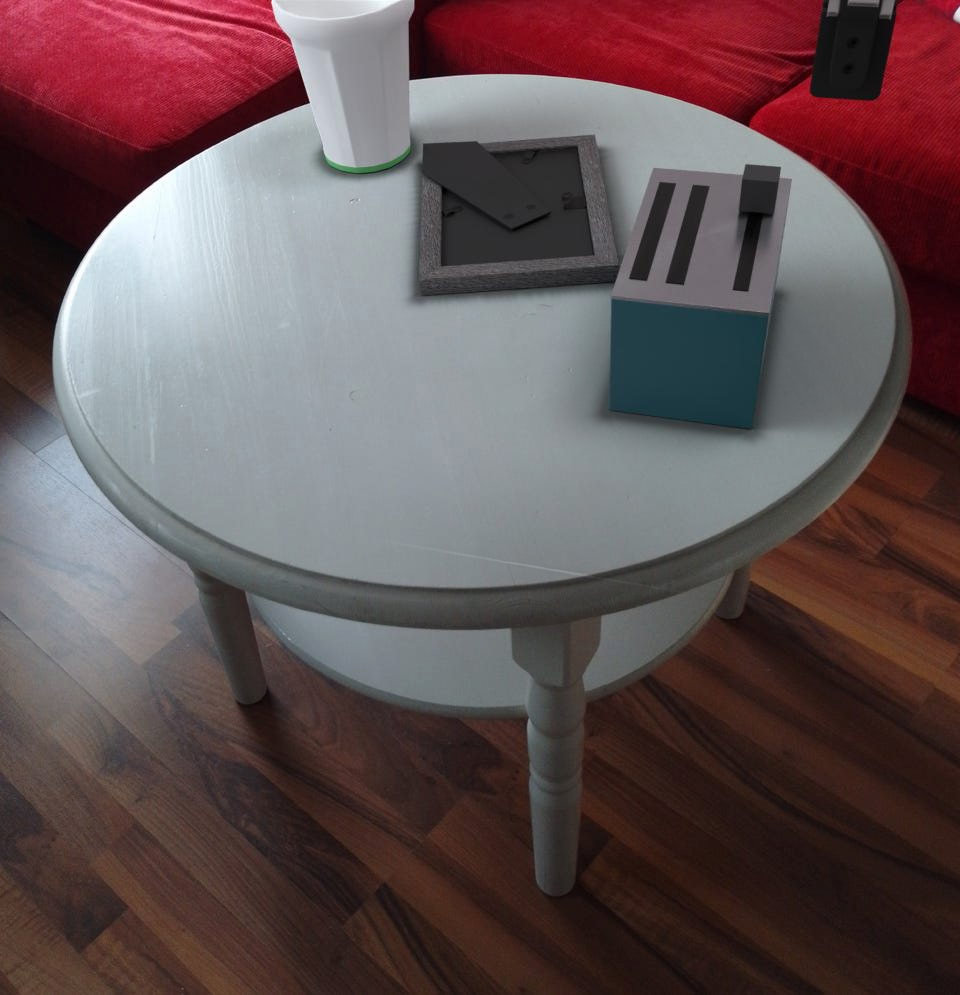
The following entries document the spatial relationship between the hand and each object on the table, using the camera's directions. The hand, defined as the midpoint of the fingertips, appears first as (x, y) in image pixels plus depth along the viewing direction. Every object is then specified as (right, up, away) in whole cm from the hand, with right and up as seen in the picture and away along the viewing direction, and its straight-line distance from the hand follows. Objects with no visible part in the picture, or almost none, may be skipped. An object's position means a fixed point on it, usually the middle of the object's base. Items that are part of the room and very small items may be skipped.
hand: (844, 90), depth 52 cm
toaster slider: (+2, +1, +24) cm, 24 cm away
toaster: (-1, -8, +30) cm, 31 cm away
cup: (-28, +14, +54) cm, 62 cm away
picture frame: (-14, +5, +44) cm, 46 cm away
